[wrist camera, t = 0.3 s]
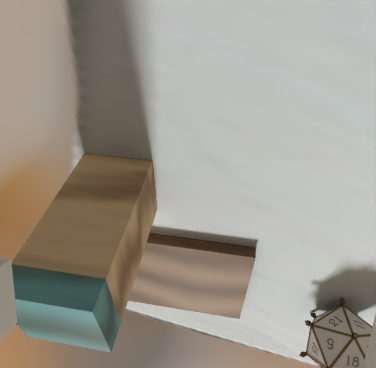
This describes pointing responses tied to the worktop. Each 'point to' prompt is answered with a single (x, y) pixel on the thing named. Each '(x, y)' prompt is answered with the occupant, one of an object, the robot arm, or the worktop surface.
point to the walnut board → (193, 275)
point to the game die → (338, 339)
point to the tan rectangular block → (86, 253)
